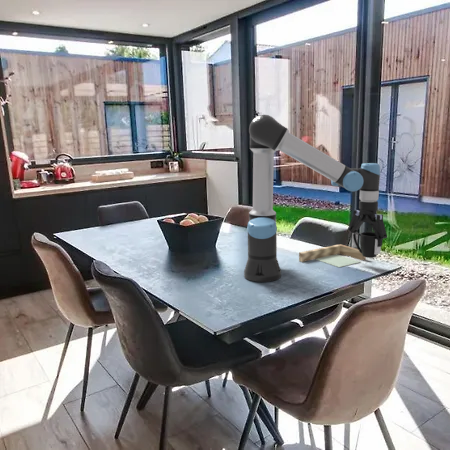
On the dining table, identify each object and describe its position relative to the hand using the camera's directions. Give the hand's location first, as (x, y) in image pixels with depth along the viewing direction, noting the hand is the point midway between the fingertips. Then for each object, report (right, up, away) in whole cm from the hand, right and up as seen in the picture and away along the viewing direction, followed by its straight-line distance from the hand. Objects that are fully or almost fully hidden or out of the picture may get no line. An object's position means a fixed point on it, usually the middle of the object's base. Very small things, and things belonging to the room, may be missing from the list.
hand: (365, 250), depth 185 cm
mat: (-9, -5, +11) cm, 15 cm away
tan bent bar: (-11, -5, +12) cm, 17 cm away
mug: (0, -2, 0) cm, 2 cm away
